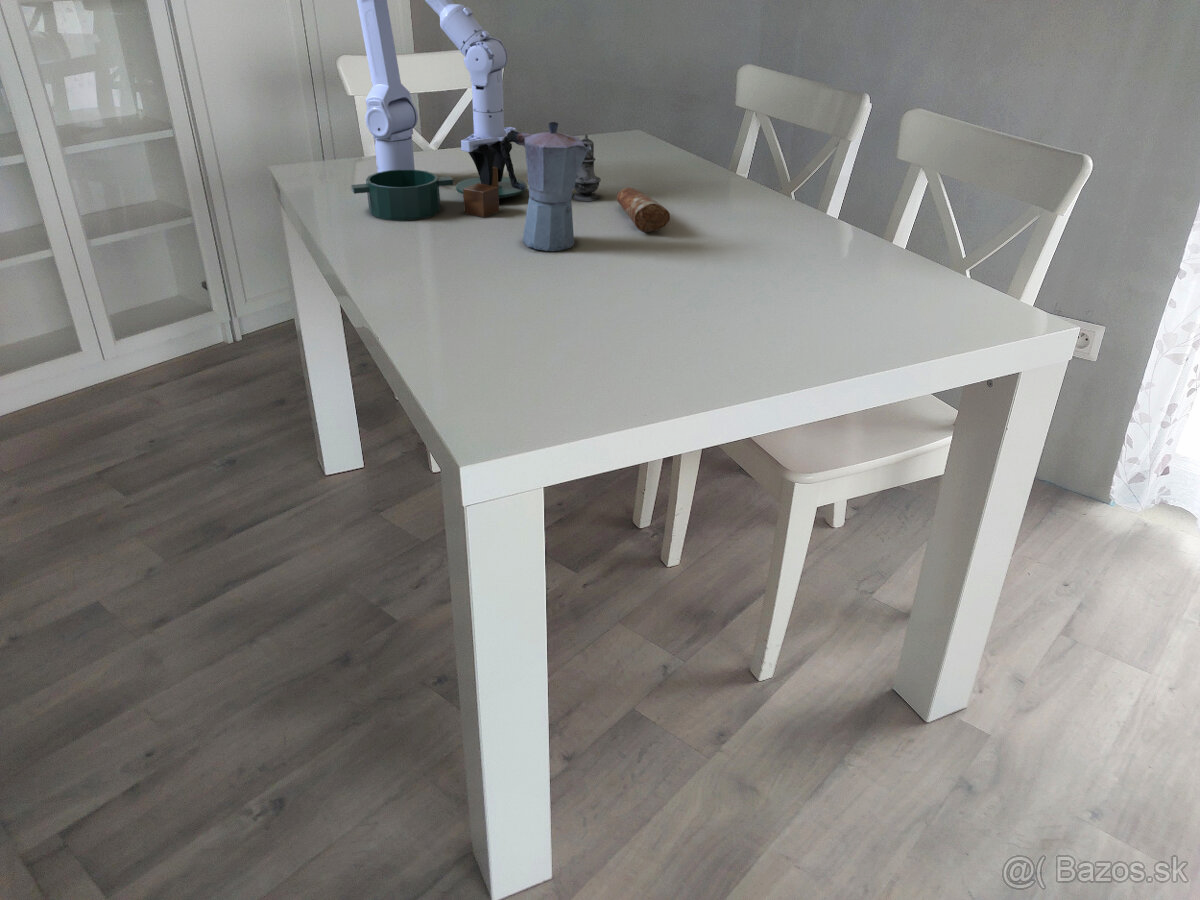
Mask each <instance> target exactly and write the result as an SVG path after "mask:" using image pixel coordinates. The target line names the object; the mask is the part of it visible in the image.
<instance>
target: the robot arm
mask: <svg viewBox="0 0 1200 900" xmlns="http://www.w3.org/2000/svg"><path fill="white" fill-rule="evenodd" d="M424 1H425V3H426V4H427V5H428V6H429V7H430V8H431V9H432V10H433V11H434V12H435V13H436V15H438V16H439V26H440V27H439V28H440V29H441V30H442V31H443V32H444V34H445V35H446V36H447V37H448V38H449V40H450V41H451V42H452V43H453V44H454V46H456V48H457V49H458V50H459V52H460V53H461V54H462V55H463V64H464V67H465V69H466V70H467V71H468V73H469V76H470V83H471V97H472V118H473V120H472V121H473V133H472V134H471V135H469V136H467V137H466V138H464V139H461V140H460V149H461V150H460V151H461V152H467V153H468V155H469V156H470V158H471V159H472V161H473V163H474V166H475V168H476V171H477V174H478V177H479V178H480V181H481V184H486V185H492V178H493V167H497V168H498V182H501V181H502V177H504V176H503V175H504V171H505V168H506V164H505V161H504V158H503V155H502V152H501V145H500V144H501V141H502V140H504V137H505V136H507V135H508V133H509V132H510V130H514V131H516V132H517V128H516V127H511V126H506V127H505V113H504V111H505V110H504V109H505V108H504V80H503V78H504V77H503V70H504V68H505V67H506V66H507V63H508V58H509V57H508V51H507V48H506V46H505V45H504V43H503V41H502V40H501V39H500V38H497V37H492V36H491V34H490V33H489V31H488V30H485V29H484V28H483V26H482V25H481V24H480V23H479V22H478V21H477V19H476V18H475V17H474V16H473V14H474V11H473V10H472V9H471V8H470V7H466V6H465V4H459V3H458V4H457V3H454V2H453V0H424ZM356 4H357V9H358V16H359V21H360V26H361V32H362V37H363V43H364V48H365V54H366V58H367V63H368V64H367V65H368V69H369V75H370V80H371V84H372V86H371V89H370V91H369V92H368V94H367V96H366V98H365V103H366V104H365V105H366V112H365V118H364V119H365V125H366V127H367V130H368V131H369V132H370V134H371V135H372V137H373V140H375V143H374V151H375V152H374V153H375V161H376V171H377V172H376V173H378V172H383V171H389V170H402V169H404V170H416V167H415V158H414V155H415V154H414V144H413V135H414V129H415V127H416V126H417V124H418V120H419V115H418V110H417V108H416V106H415V104H414V103H413V101H412V97H411V92H410V90H408V89H407V87H406V86H404V85H403V83H402V81H401V75H400V70H399V64H398V63H399V62H398V57H397V52H396V51H397V50H396V47H395V40H394V35H393V34H394V33H393V28H392V24H391V23H392V22H391V17H390V16H391V15H390V10H389V6H388V0H356ZM512 149H513V143H512V142H510V143H509V144H508V150H509V153H510V154H511V151H512Z"/></svg>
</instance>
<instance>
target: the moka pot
mask: <svg viewBox="0 0 1200 900" xmlns="http://www.w3.org/2000/svg"><path fill="white" fill-rule="evenodd" d="M558 128H559V122H555V121H550V122H549V123H548V130H549V131H543V132H536V133H533V134H530V133H528V132H519V131H517V130H516V131H514V130H510V132H509V133H508V135H507V136H505V137H504V140H502V141H501V144H500V145H501V152H502V155H503V158H504V161H505V168H506V171H507V173H508V177H509V178H510V181H511V185H512V187H513V188H517V189H519V190H524V189H525V187H526V186H525V185H524V184H520V183H518V182H517V179H518V178H517V176H516V175H515V170H514V169H515V168H514V164H513V161H512V158H511V152H510V153H509V150H508V144H509V143H512V142H513V143H515V144H516V145H518V146H523V147H524V151H525V162H526V173H527V174H526V175H527V182H528V196H529V197H528V201H527V202H528V203H527V208H526V214H525V221H524V227H523V235H522V243H523V244H524V245H525V246H527V247H529V248H531V249H533V250H538V251H545V252H557V251H558V252H560V251H561V252H562V251H566V250H568V249H570V248H572V247H573V246H574V245H575V233H574V221H573V220H574V219H573V206H572V199H573V198H572V196H573V190H575V189H574V187H575V182H576V176H577V172H578V170H579V169H580V167H581V164H582V162H583V160H584V158H585V156H586V154H587V153H588V151H590V150H592V149H591V147H590V146H589V145H588V144H587V143H585V142H583V141H581V140H580V137H578V136H575V135H571V134H566V133H563V132H558Z"/></svg>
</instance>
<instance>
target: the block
mask: <svg viewBox="0 0 1200 900" xmlns="http://www.w3.org/2000/svg"><path fill="white" fill-rule="evenodd" d="M462 195H463V209H464V214H466V215H471V216H476V217H479V218H487V217H490V216H492V215H494V214H497V213H500V198H499V190H498V187H496V186H491V185H486V184H481V183H478V184H475V185H472V186H469V187H466V188H463V194H462Z"/></svg>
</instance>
